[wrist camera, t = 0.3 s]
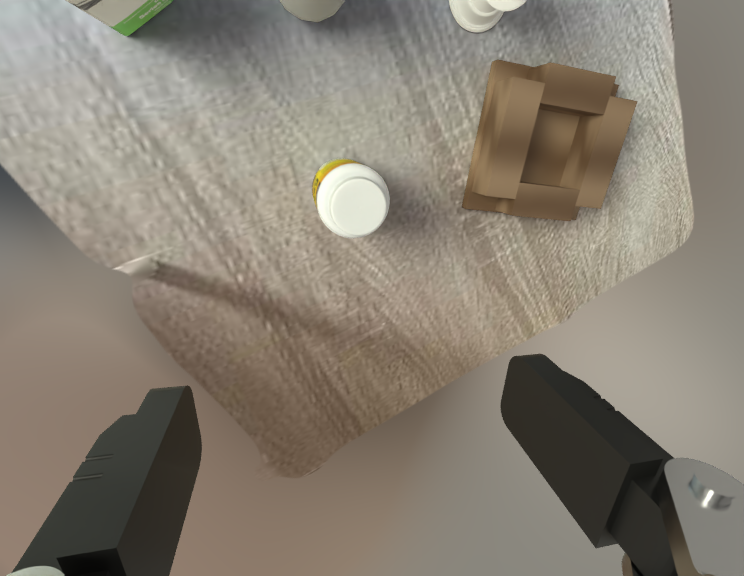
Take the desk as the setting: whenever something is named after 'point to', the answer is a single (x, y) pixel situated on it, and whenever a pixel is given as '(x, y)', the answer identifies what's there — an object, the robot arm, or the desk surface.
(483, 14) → the candle
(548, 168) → the wooden square tray
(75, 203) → the desk surface
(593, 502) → the robot arm
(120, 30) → the ink box
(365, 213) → the supplement bottle
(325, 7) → the salt shaker
